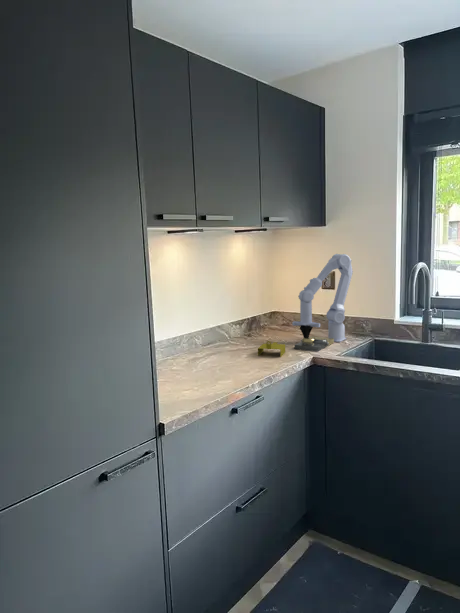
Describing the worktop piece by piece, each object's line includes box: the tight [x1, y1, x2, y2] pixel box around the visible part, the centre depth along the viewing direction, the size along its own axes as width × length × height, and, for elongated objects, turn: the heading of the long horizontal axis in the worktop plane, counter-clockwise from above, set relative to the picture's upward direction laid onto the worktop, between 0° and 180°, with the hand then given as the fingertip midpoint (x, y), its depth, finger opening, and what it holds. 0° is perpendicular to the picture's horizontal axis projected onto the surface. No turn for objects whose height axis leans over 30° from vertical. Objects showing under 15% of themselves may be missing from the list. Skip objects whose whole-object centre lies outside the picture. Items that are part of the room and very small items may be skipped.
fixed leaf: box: [294, 339, 330, 352], centre depth 219 cm, size 13×12×3 cm
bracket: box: [257, 340, 286, 357], centre depth 211 cm, size 16×8×15 cm
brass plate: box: [300, 336, 335, 347], centre depth 227 cm, size 13×12×3 cm
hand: (306, 340), depth 232 cm, fingers closed
